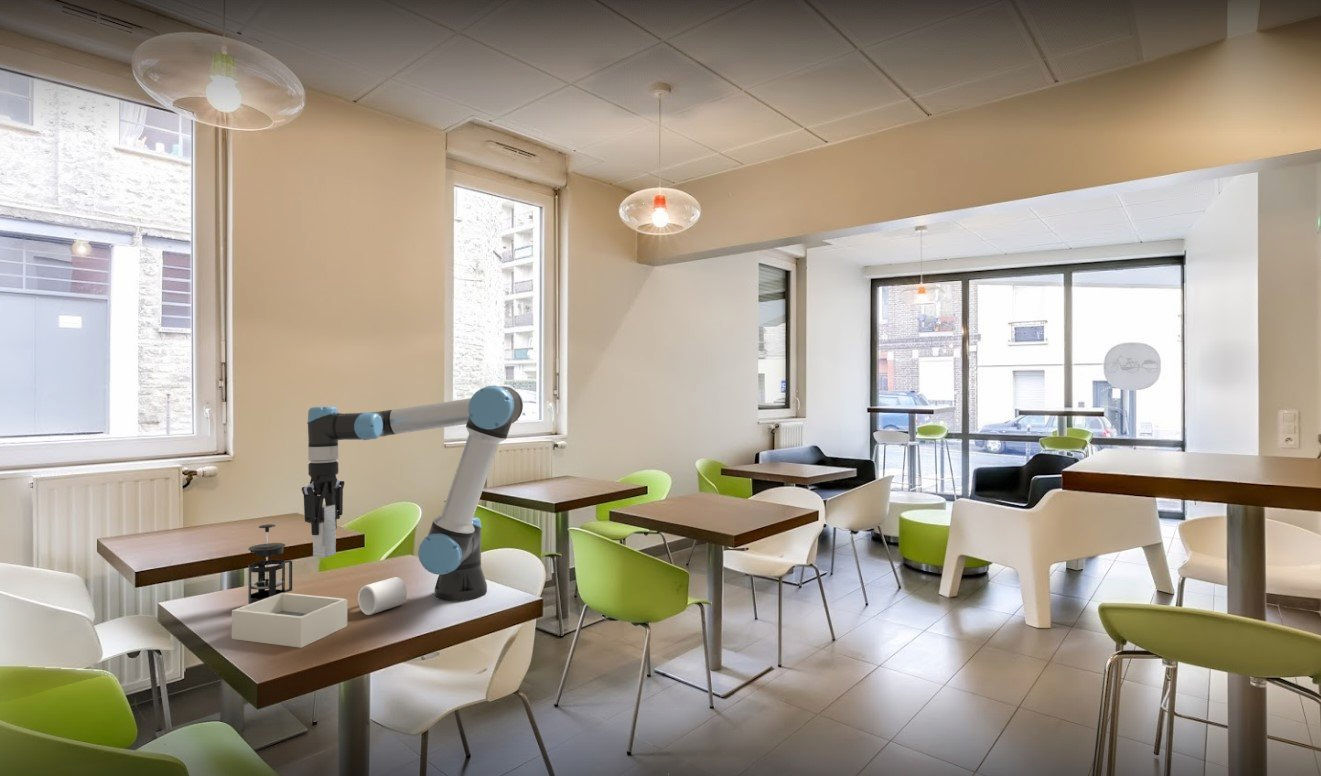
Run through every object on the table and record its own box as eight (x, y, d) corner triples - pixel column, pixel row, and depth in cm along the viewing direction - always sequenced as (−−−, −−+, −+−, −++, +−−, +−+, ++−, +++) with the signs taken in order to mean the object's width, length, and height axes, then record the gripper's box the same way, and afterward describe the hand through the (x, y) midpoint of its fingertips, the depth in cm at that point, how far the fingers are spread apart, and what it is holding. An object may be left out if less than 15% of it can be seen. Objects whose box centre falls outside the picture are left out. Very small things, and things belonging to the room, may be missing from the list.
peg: (335, 554, 185) (335, 504, 185) (324, 557, 181) (324, 507, 182) (324, 553, 186) (323, 504, 186) (313, 556, 182) (312, 506, 183)
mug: (407, 607, 185) (407, 578, 185) (375, 617, 176) (375, 588, 176) (379, 600, 191) (379, 573, 191) (348, 610, 182) (348, 581, 182)
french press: (251, 614, 179) (251, 530, 179) (239, 606, 185) (240, 525, 185) (297, 603, 188) (297, 523, 188) (285, 597, 194) (285, 519, 194)
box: (347, 626, 169) (347, 599, 170) (300, 647, 155) (301, 618, 155) (282, 618, 175) (282, 592, 175) (231, 638, 161) (231, 610, 161)
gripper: (335, 458, 193) (336, 537, 193) (287, 464, 177) (288, 550, 177) (356, 458, 191) (357, 538, 191) (310, 464, 175) (311, 552, 175)
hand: (324, 544), depth 184 cm, fingers closed on peg, 4 cm apart
